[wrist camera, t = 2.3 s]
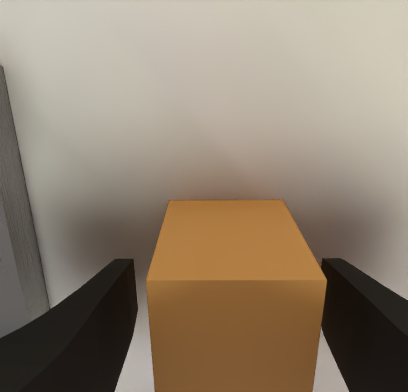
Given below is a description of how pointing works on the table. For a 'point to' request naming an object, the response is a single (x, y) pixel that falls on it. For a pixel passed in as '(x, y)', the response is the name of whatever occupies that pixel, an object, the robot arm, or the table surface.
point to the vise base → (16, 235)
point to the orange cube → (233, 299)
